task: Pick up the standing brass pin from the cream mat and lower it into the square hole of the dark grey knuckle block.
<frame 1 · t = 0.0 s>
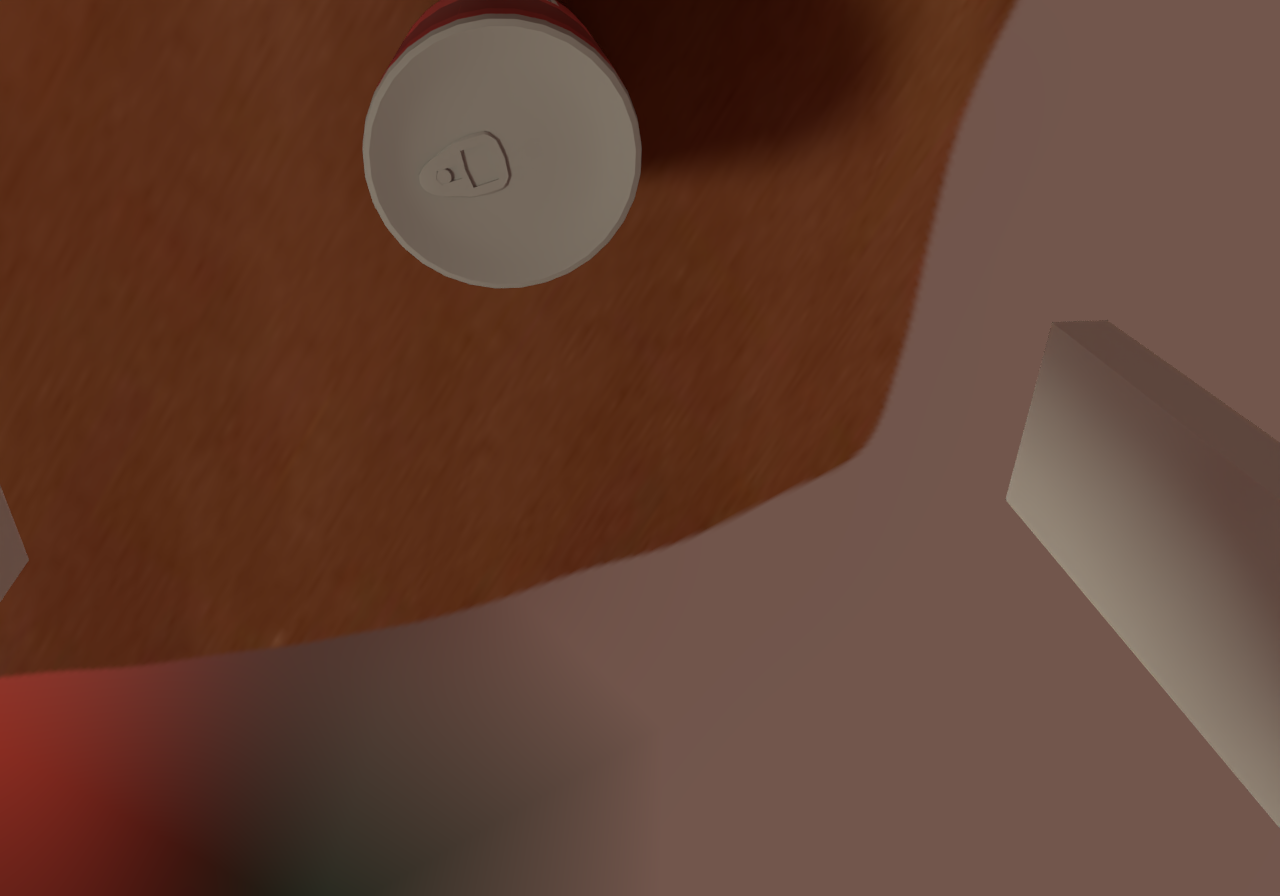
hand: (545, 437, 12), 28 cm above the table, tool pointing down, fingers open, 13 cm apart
canned food: (501, 90, 36), on the table
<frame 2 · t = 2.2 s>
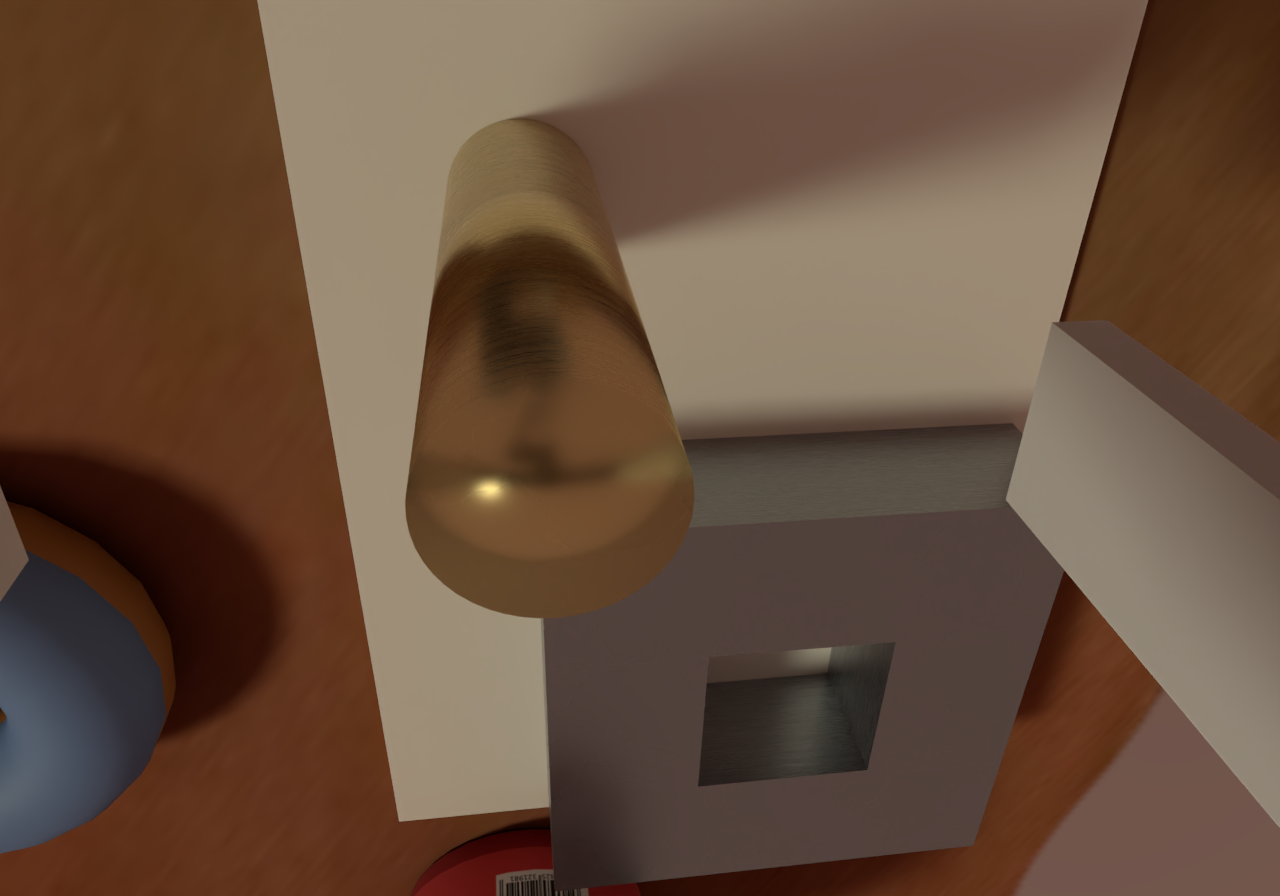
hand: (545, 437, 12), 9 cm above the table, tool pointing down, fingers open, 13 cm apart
canned food: (522, 889, 32), on the table
knuckle block: (758, 620, 26), resting on mat
pin: (522, 194, 19), resting on mat
mat: (697, 430, 23), on the table
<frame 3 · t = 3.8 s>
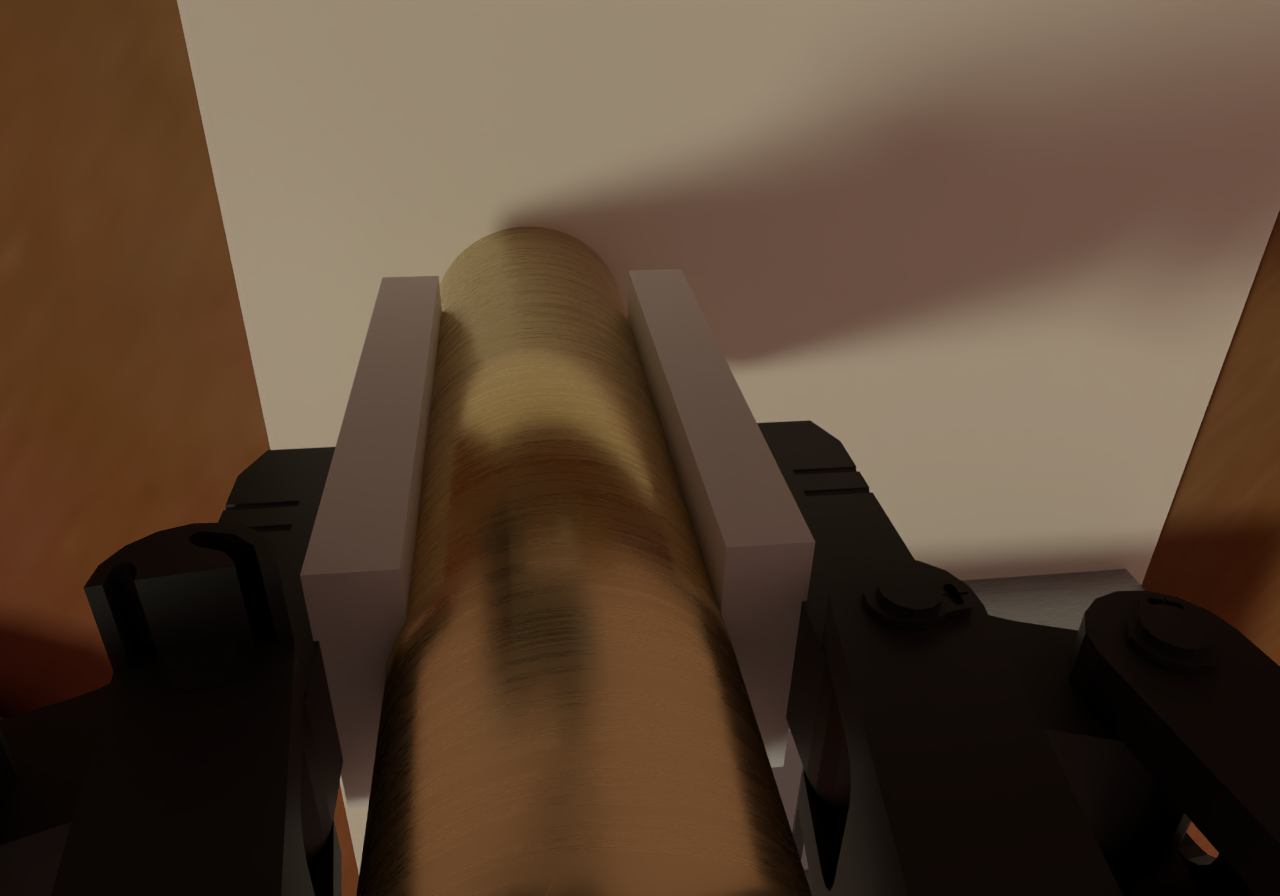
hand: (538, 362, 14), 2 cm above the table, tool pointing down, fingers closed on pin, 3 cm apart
knuckle block: (814, 790, 22), resting on mat
pin: (530, 318, 15), resting on mat, touching gripper
mat: (746, 582, 19), on the table
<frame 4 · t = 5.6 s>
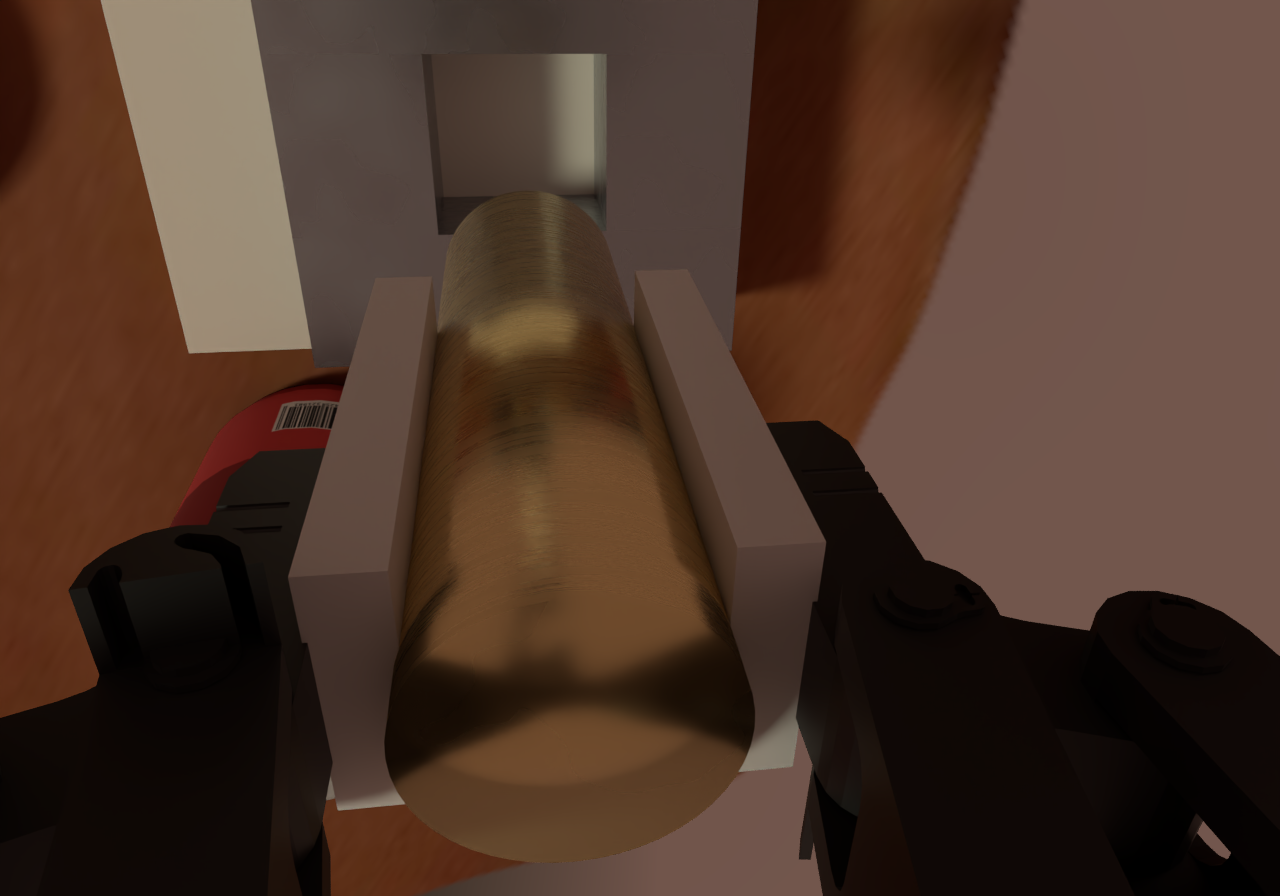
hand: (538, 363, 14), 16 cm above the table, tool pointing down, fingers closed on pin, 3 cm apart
canned food: (331, 470, 33), on the table
knuckle block: (516, 118, 27), resting on mat
pin: (529, 273, 17), point 13 cm above the table, touching gripper
when the fingers open (5 cm above the table, at t = 7.2 s): pin stays where it is, resting on mat.
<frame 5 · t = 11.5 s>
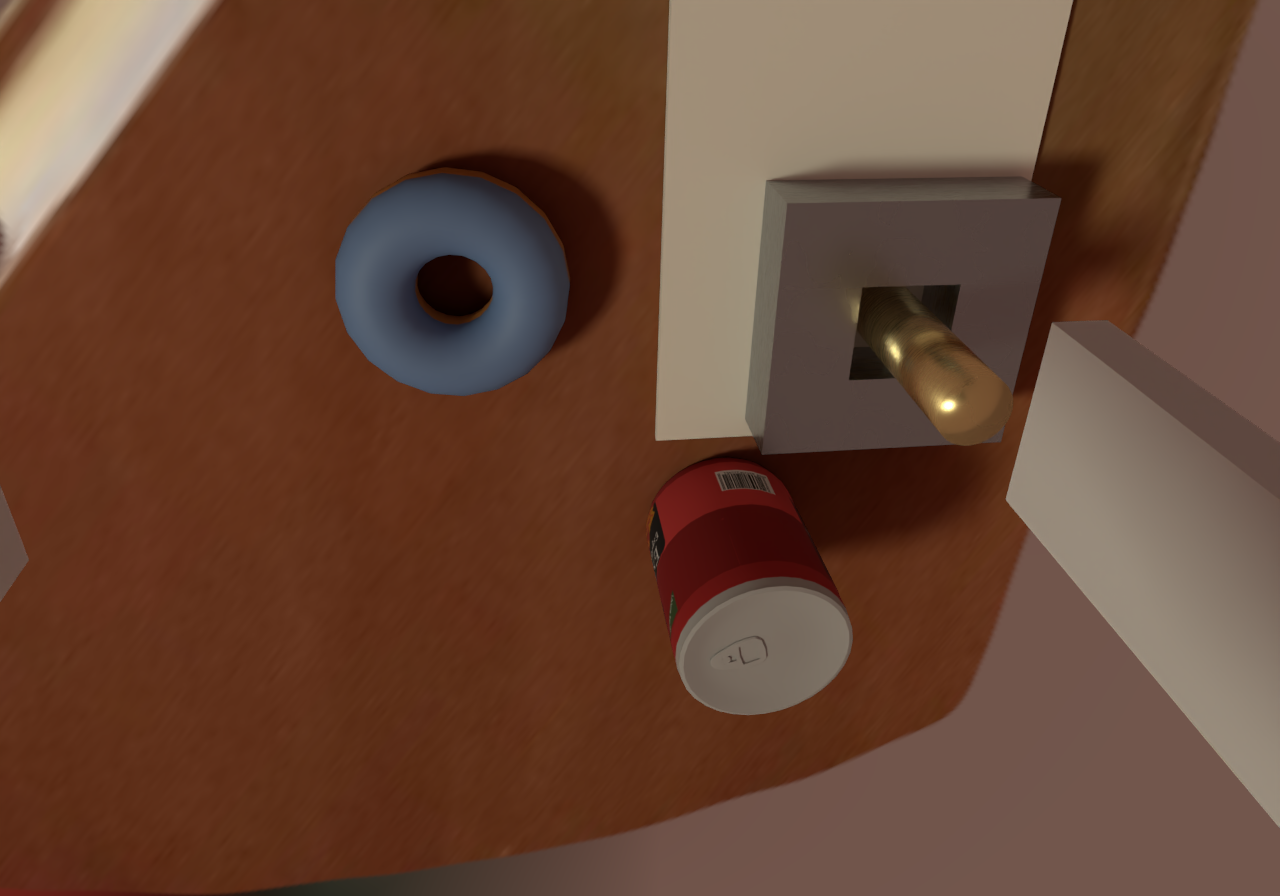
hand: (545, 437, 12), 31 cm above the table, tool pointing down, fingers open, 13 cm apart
canned food: (715, 511, 51), on the table
knuckle block: (876, 303, 45), resting on mat
doughnut: (456, 269, 43), on the table
pin: (876, 304, 45), resting on mat
mat: (850, 176, 42), on the table
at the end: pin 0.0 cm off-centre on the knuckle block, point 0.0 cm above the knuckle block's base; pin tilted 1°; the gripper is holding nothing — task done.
